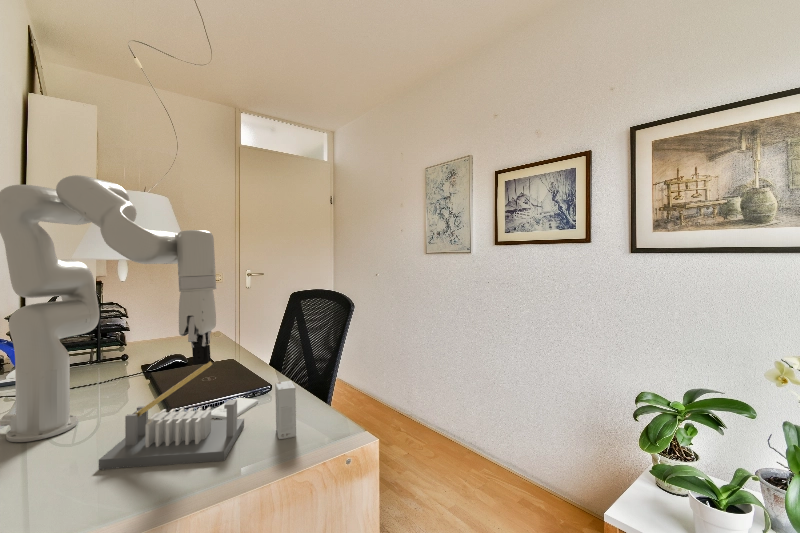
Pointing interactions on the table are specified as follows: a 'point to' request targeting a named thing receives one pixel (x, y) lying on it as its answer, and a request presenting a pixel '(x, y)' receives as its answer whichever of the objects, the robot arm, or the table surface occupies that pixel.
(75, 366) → the table surface
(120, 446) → the cooler base
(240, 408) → the external hard drive
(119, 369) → the table surface
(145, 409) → the bar
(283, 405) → the skincare box
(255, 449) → the table surface
